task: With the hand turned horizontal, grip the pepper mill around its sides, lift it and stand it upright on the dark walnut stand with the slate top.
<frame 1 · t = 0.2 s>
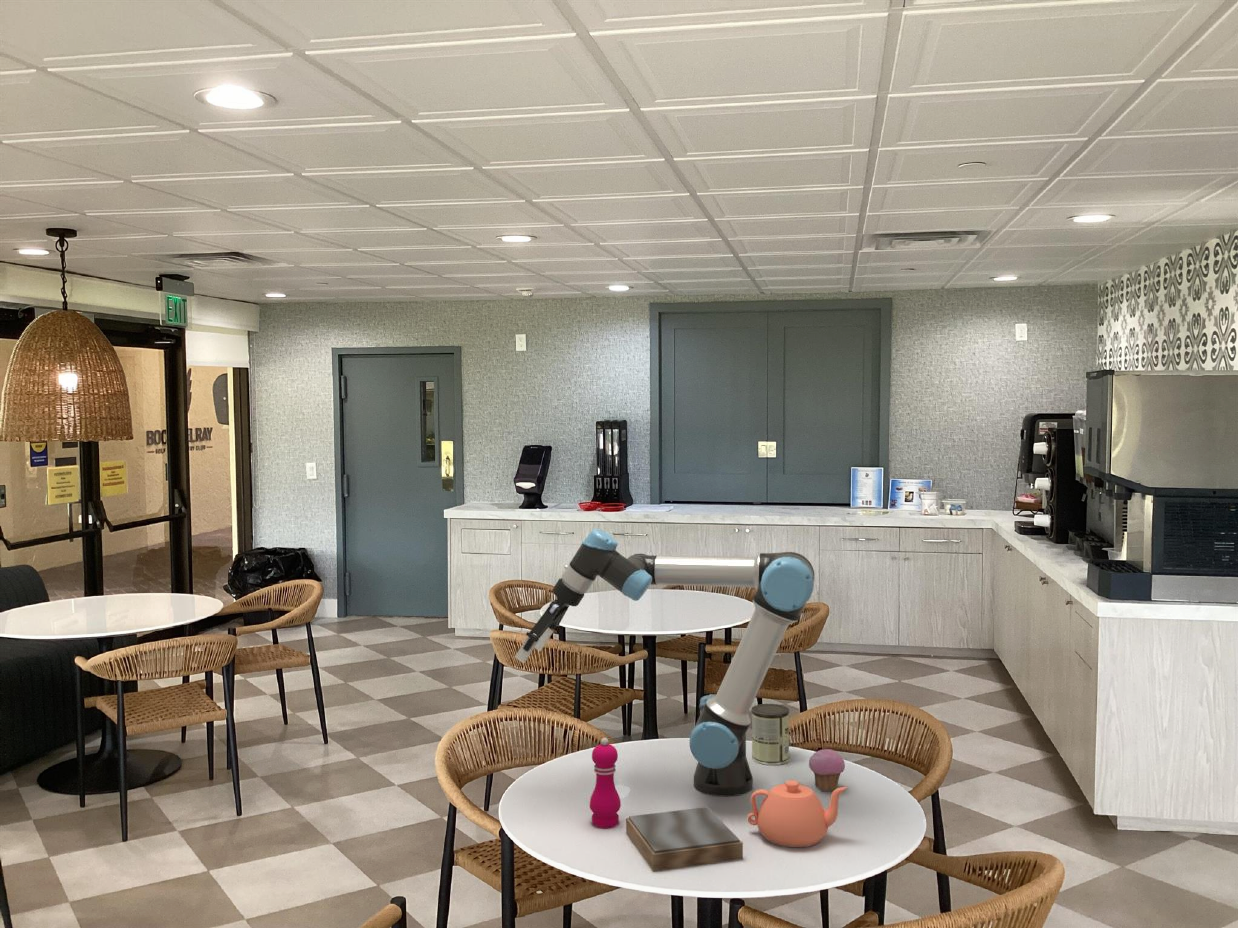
hand: (527, 654, 249), 35 cm above the table, tool tilted 35°, fingers open, 13 cm apart
teapot: (796, 837, 221), on the table
pepper mill: (605, 823, 230), on the table
walnut stand: (682, 845, 217), on the table
coffee can: (770, 759, 273), on the table
cupcake: (826, 790, 250), on the table
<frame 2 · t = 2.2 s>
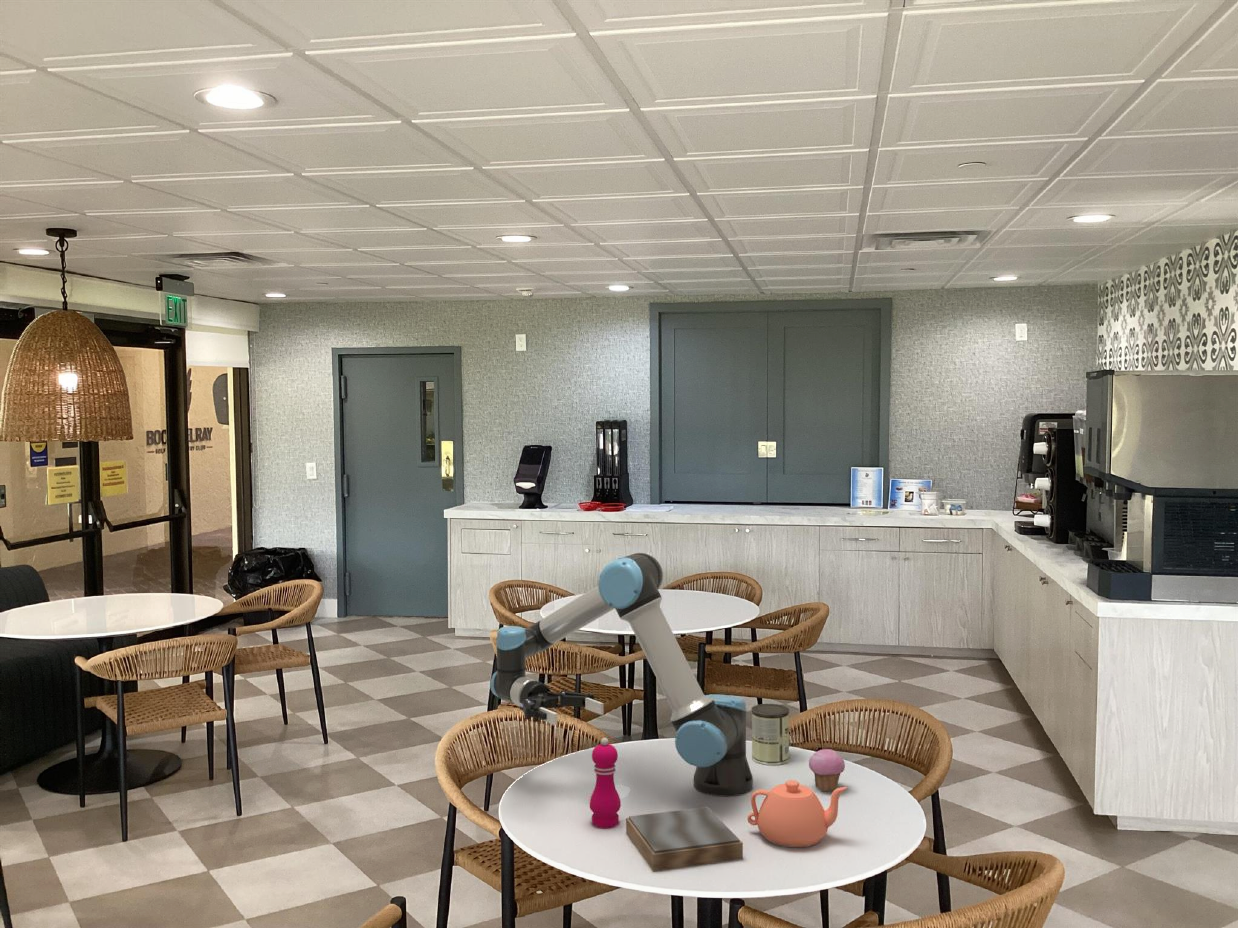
hand: (579, 714, 237), 23 cm above the table, tool horizontal, fingers open, 13 cm apart
nothing on the table moved.
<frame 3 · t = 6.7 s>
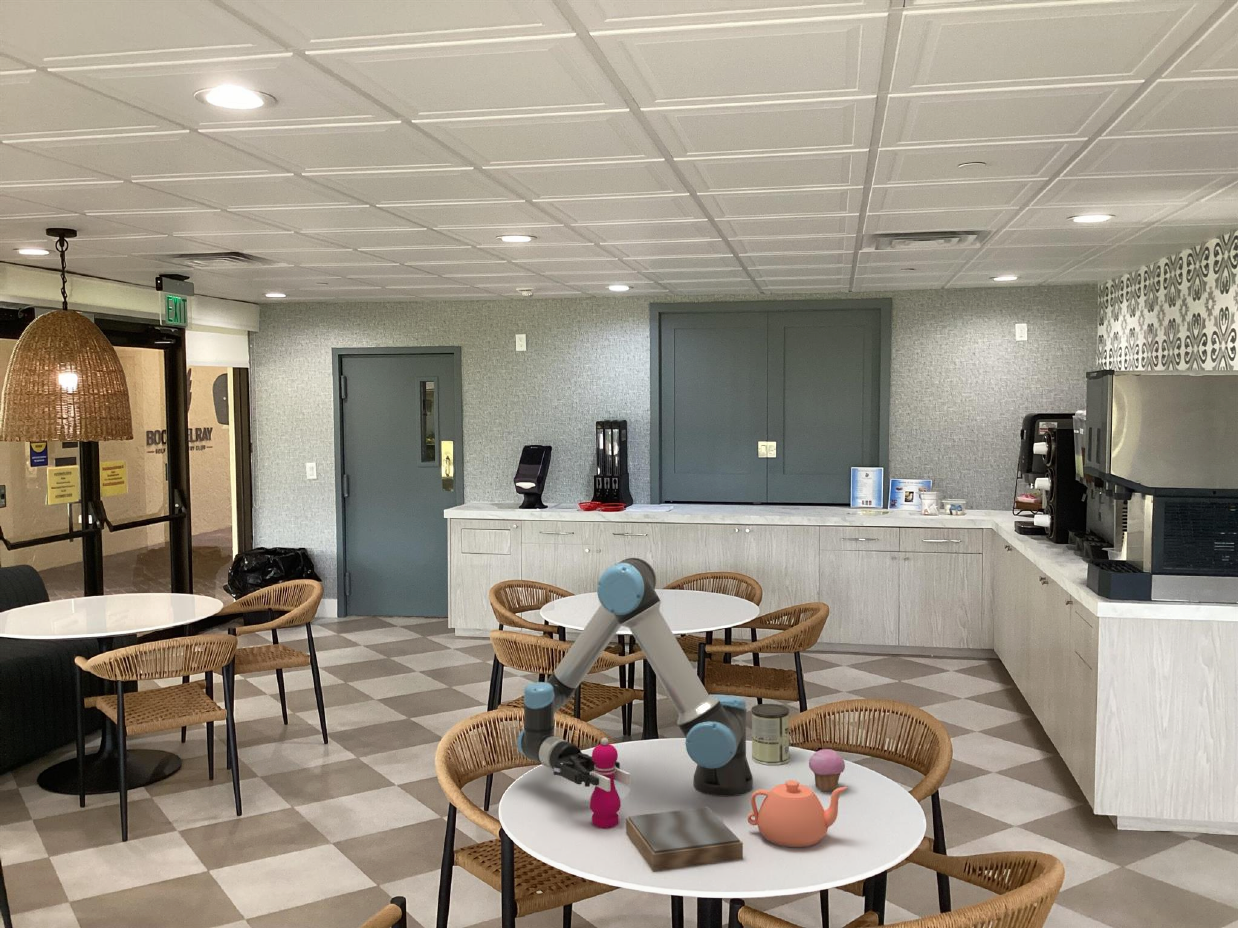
hand: (618, 782, 225), 11 cm above the table, tool horizontal, fingers closed on pepper mill, 5 cm apart
pepper mill: (605, 823, 230), on the table, touching gripper
everything else where it was.
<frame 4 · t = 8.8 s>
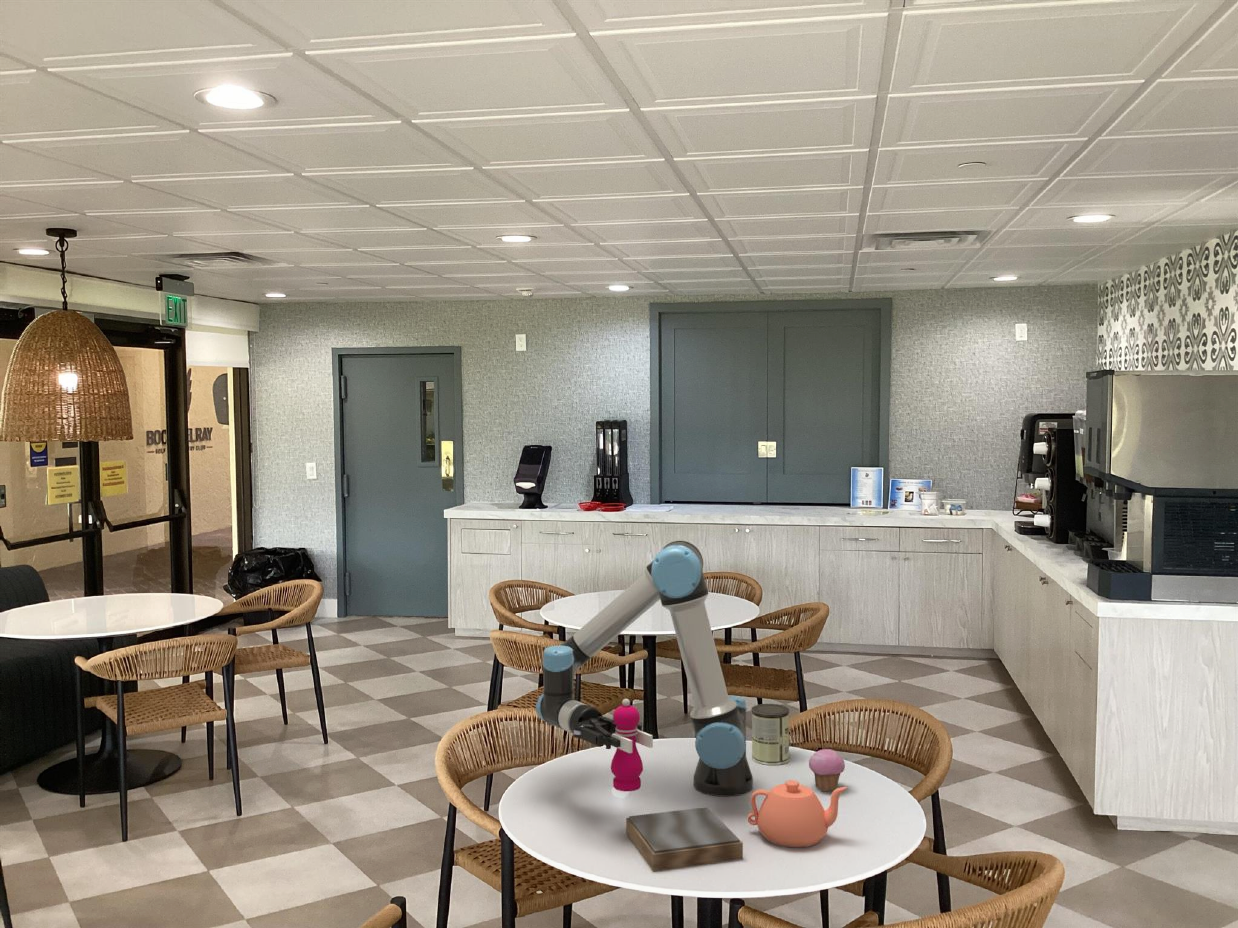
hand: (641, 744, 218), 22 cm above the table, tool horizontal, fingers closed on pepper mill, 5 cm apart
pepper mill: (627, 787, 223), point 11 cm above the table, touching gripper
everything else where it was.
when the fingers open (16 cm above the table, at t = 11.2 s): pepper mill drops 1 cm, resting on walnut stand.
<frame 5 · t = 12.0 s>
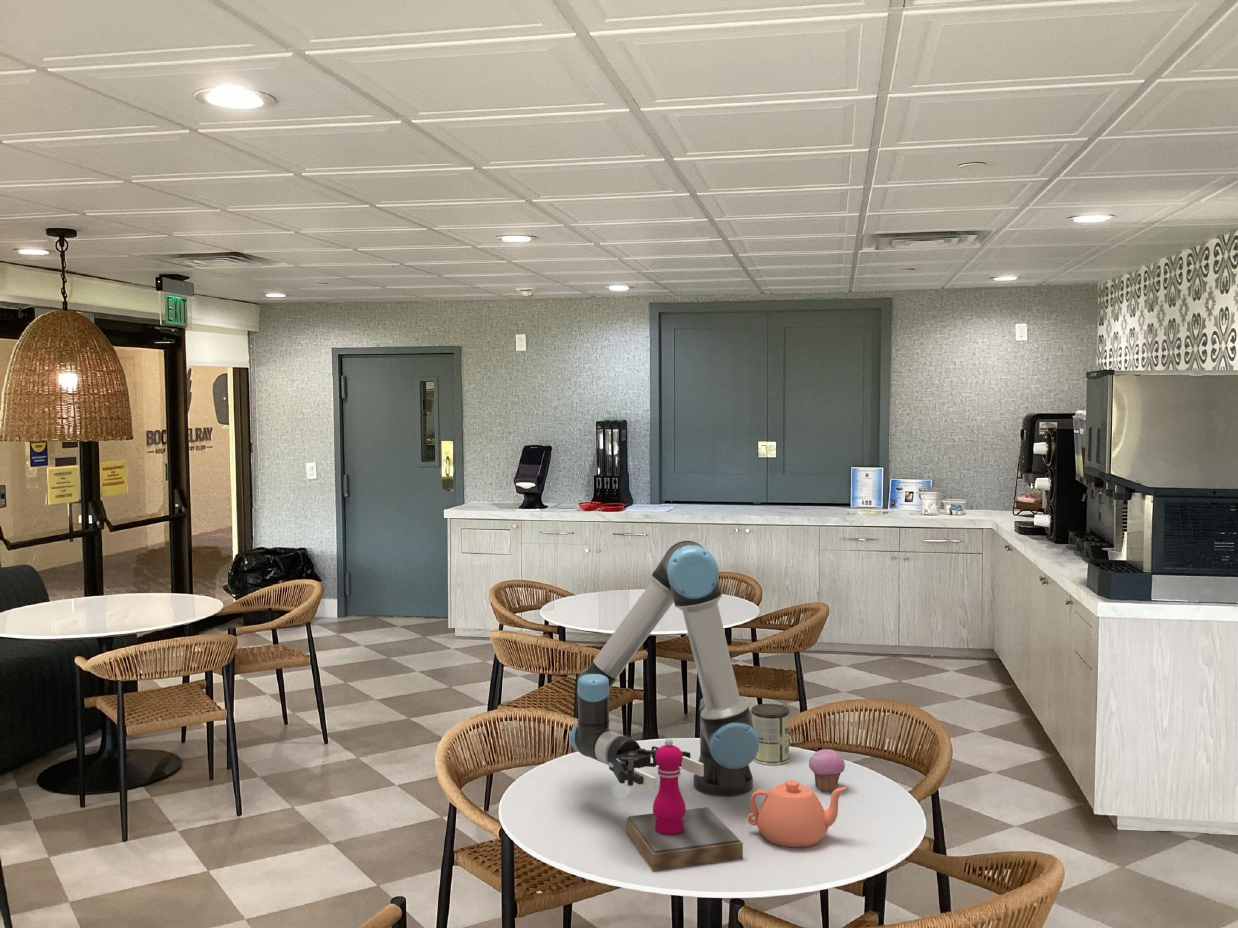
hand: (679, 776, 213), 16 cm above the table, tool horizontal, fingers open, 13 cm apart
pepper mill: (669, 829, 216), point 4 cm above the table, touching walnut stand
everything else where it was.
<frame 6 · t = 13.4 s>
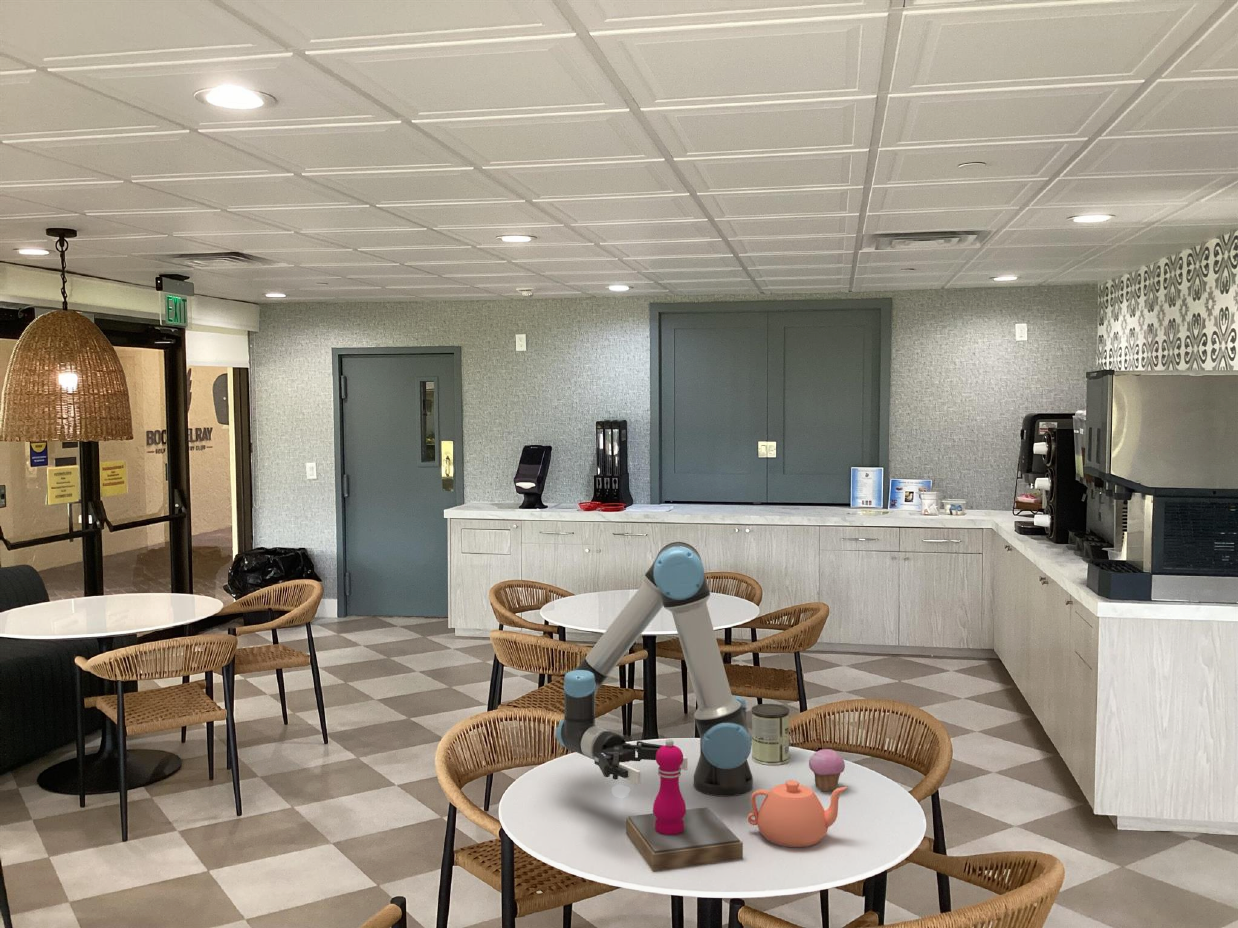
hand: (663, 770, 217), 17 cm above the table, tool horizontal, fingers open, 13 cm apart
nothing on the table moved.
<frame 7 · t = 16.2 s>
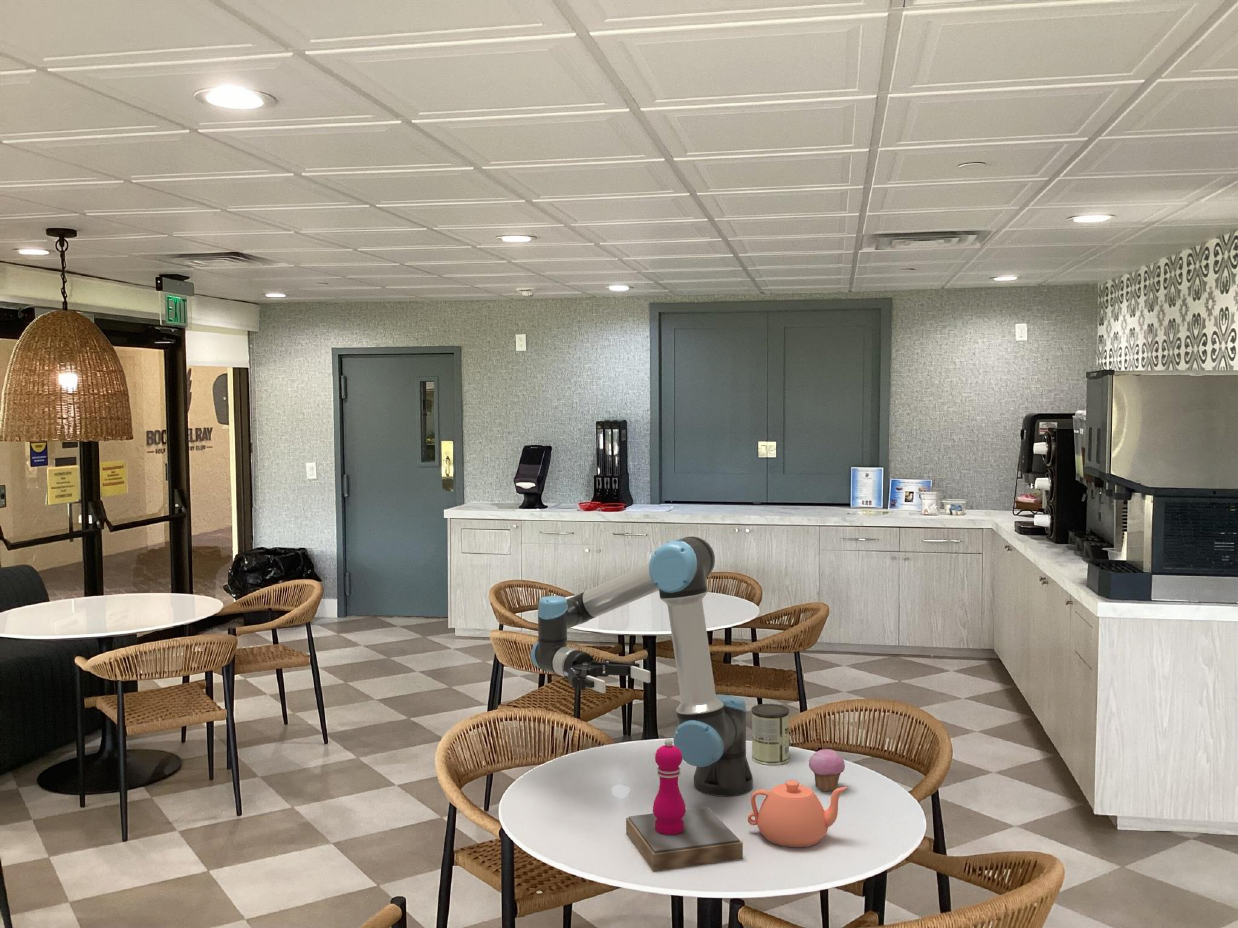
hand: (627, 681, 233), 32 cm above the table, tool horizontal, fingers open, 13 cm apart
nothing on the table moved.
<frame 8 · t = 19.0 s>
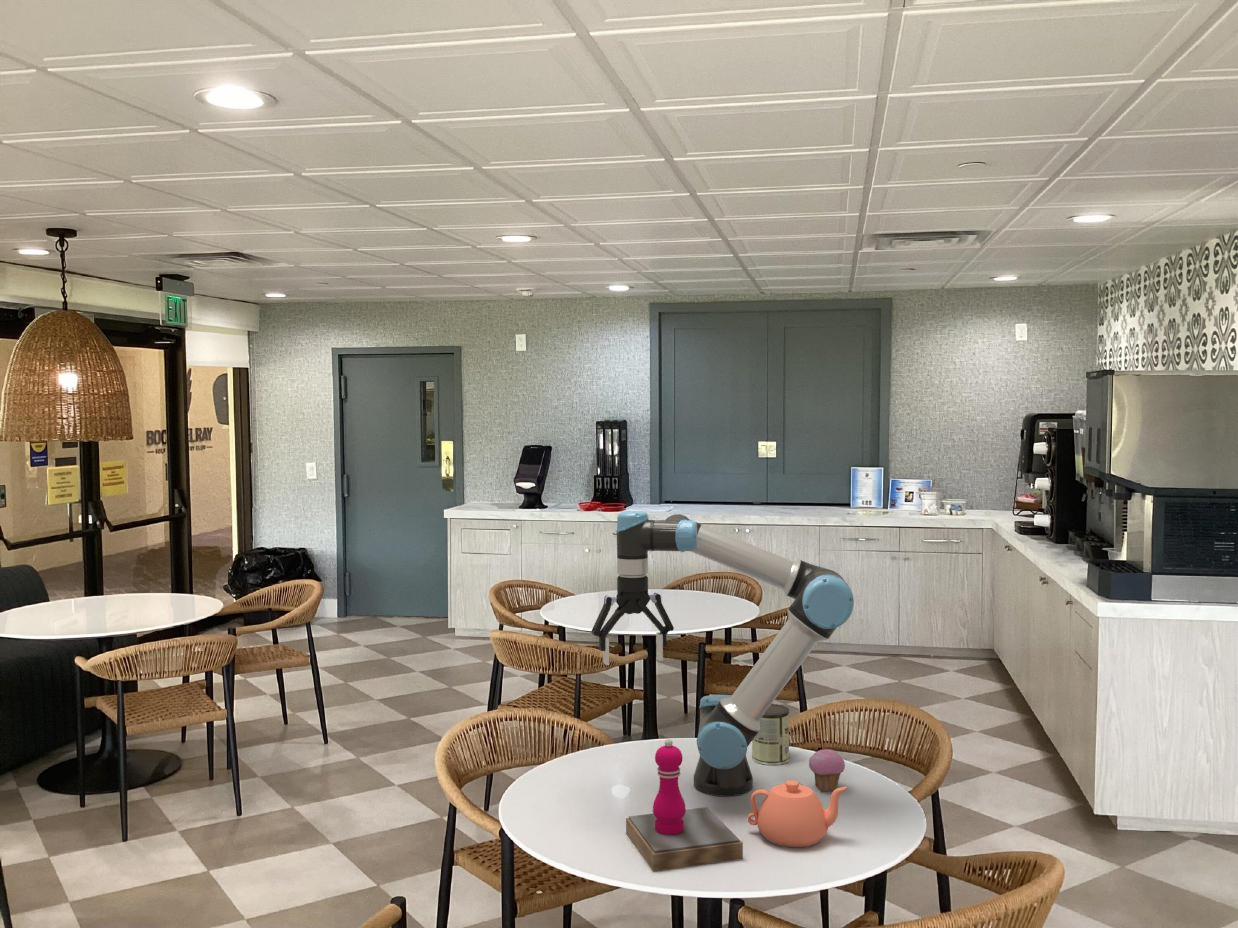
hand: (633, 661, 241), 35 cm above the table, tool pointing down, fingers open, 13 cm apart
nothing on the table moved.
at the end: pepper mill inside the target area on the walnut stand (1.6 cm from its centre), point 3.8 cm above the walnut stand's base; pepper mill tilted 0°; the gripper is holding nothing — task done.
